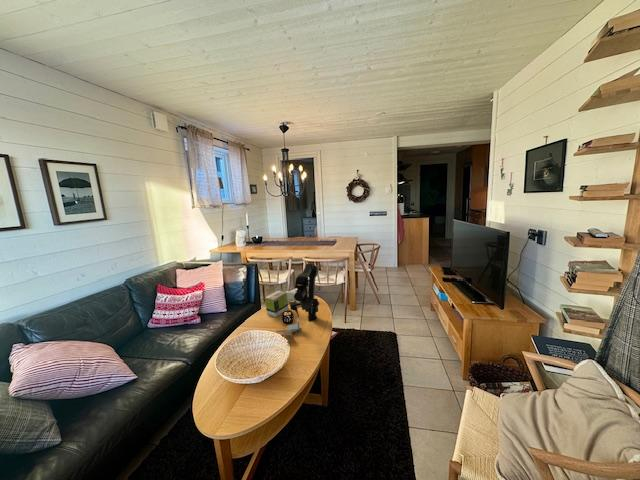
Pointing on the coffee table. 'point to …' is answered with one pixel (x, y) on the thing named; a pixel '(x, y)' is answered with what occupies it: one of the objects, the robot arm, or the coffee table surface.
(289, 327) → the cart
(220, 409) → the coffee table surface
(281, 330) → the track
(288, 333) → the block
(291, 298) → the fox head
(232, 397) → the coffee table surface
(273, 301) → the tea box
